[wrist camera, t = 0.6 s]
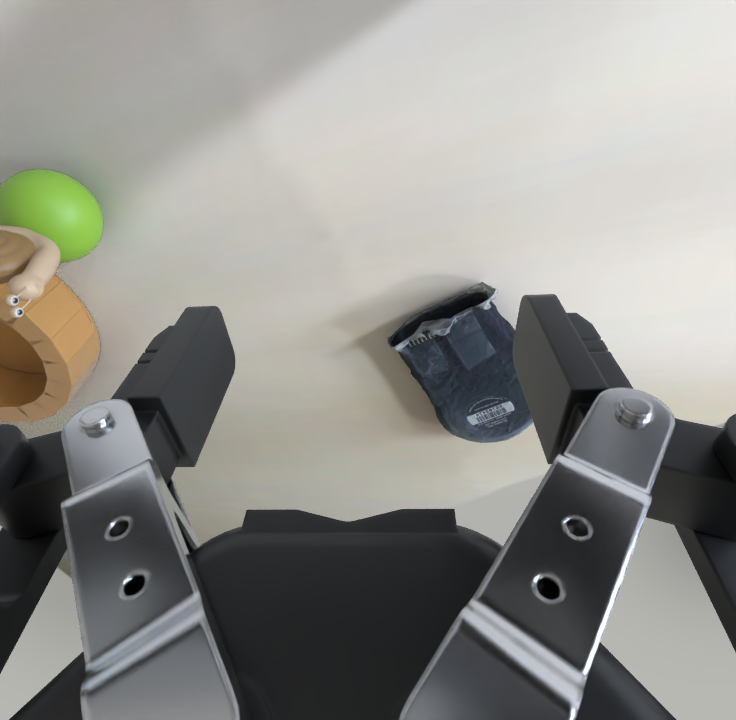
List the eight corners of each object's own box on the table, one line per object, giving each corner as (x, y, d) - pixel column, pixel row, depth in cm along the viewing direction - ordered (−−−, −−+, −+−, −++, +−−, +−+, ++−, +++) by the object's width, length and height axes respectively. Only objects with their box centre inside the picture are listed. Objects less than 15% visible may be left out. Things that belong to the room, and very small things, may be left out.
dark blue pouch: (378, 323, 36) (459, 444, 42) (380, 355, 31) (472, 486, 37) (481, 264, 34) (551, 400, 40) (500, 288, 29) (577, 439, 35)
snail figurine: (139, 248, 31) (34, 355, 22) (44, 232, 30) (-104, 334, 21) (126, 170, 28) (-5, 257, 18) (19, 150, 27) (-172, 228, 18)
